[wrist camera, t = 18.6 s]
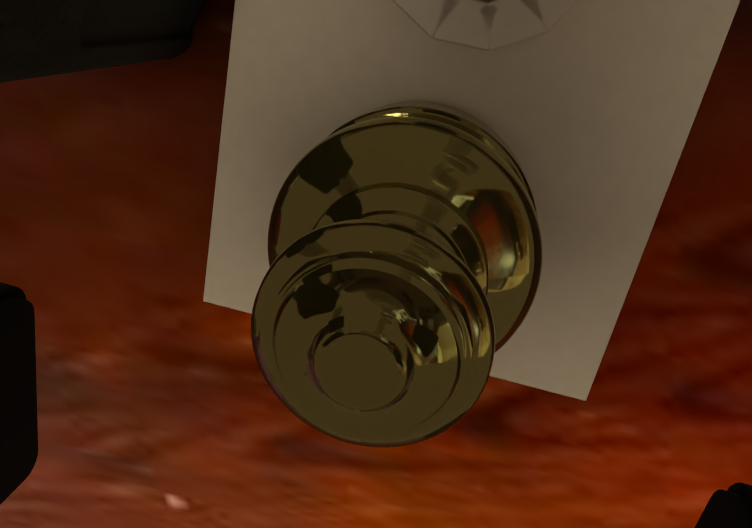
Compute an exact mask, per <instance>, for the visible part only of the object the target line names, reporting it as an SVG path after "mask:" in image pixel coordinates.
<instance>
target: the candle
mask: <svg viewBox="0 0 752 528" xmlns="http://www.w3.org/2000/svg"><path fill="white" fill-rule="evenodd" d="M204 1H205V0H0V82H7V81H14V80H21V79H28V78H35V77H42V76H49V75H56V74H63V73H70V72H77V71H84V70H91V69H98V68H105V67H112V66H119V65H125V64H132V63H139V62H146V61H153V60H160V59H167V58H172V57H175V56H177V55H179V54H181V53H182V52H183V51H184V50H186V48H187V47H188V45H189V44H190V42H191V40H192V38H191V36H190V35H189V32H190V30H191V28H192V26H193V24H194V21H195V19H196V17H197V15H198V13H199V11H200V9H201V7H202V5H203V3H204Z"/></svg>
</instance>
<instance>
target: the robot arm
mask: <svg viewBox="0 0 752 528" xmlns="http://www.w3.org/2000/svg"><path fill="white" fill-rule="evenodd" d="M37 456H38V430H37V392H36V354H35V317H34V307H33V305H32V303H31V302H29V301H27V300H26V296H25V294H24V292H23V290H21V289H20V288H18V287H16V286H12V285H8V284H5V283H1V282H0V504H1V503H2V502H3V501H4V500H5V499H6V498H7V497H8V496H9V495H10V494H11V493H12V492H13V491H14V490H15V489H16V488H17V487H18V486H19V485H20V484H21V483H22V482H23V481H24V480H25V479H26V478H27V476H28V475H29V474H30V472H31V471H32V469H33V467H34V465H35V462H36V459H37ZM695 528H752V486H751V485H748V484H744V483H735V484H733V485H732V486H730V487H729V489H728V490H727V491H725V490H717V491H716V492H714V494H713V495H712V497H711V498H710V500H709V502H708V504H707V506H706V507H705V509H704V511H703V513H702V515H701V517H700V519H699V521H698V522H697V524H696V526H695Z"/></svg>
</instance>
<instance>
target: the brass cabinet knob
mask: <svg viewBox="0 0 752 528" xmlns="http://www.w3.org/2000/svg"><path fill="white" fill-rule="evenodd" d="M267 253H268V263H269V269H268V271H267V273H266V274H265V276H264V278H263V280H262V282H261V285H260V287H259V289H258V292H257V294H256V297H255V301H254V305H253V310H252V317H251V336H252V344H253V350H254V353H255V357H256V360H257V363H258V366H259V368H260V370H261V372H262V375H263V377H264V379H265V380H266V382H267V384H268V385H269V387H270V388H271V390H272V391H273V393H274V394H275V395H276V397H277V398H278V399H279V400H280V401H281V403H282V404H283V405H284V406H285V407H286V408H287V409H288V410H289V411H290V412H292V413H293V414H294V415H295V416H296V417H297V418H299V419H300V420H301V421H303V422H304V423H306V424H307V425H309V426H310V427H312V428H314V429H315V430H317V431H319V432H321V433H323V434H325V435H327V436H329V437H332V438H334V439H337V440H340V441H343V442H346V443H350V444H355V445H360V446H366V447H377V448H389V447H400V446H406V445H411V444H415V443H419V442H422V441H425V440H428V439H430V438H432V437H435V436H437V435H439V434H441V433H442V432H444V431H446V430H447V429H449V428H450V427H452V426H453V425H455V424H456V423H457V422H458V421H460V420H461V419H462V418H463V417H464V416H465V415H466V414H467V413H468V412H469V411H470V409H471V408H472V407H473V406H474V404H475V403H476V402H477V400H478V399H479V397H480V395H481V393H482V392H483V390H484V388H485V385H486V383H487V381H488V377H489V374H490V371H491V368H492V364H493V359H494V354H495V353H496V352H497V351H498V350H500V349H501V348H502V347H503V346H504V345H505V344H506V343H507V342H508V341H509V340H510V339H511V338H512V336H513V335H514V334H515V333H516V332H517V330H518V329H519V327H520V326H521V325H522V323H523V321H524V320H525V318H526V316H527V314H528V313H529V311H530V309H531V306H532V304H533V302H534V300H535V297H536V294H537V291H538V287H539V283H540V279H541V273H542V264H543V247H542V237H541V230H540V226H539V222H538V218H537V212H536V206H535V202H534V198H533V195H532V192H531V189H530V186H529V184H528V182H527V179H526V177H525V174H524V171H523V169H522V167H521V165H520V163H519V161H518V159H517V158H516V156H515V154H514V153H513V151H512V150H511V149H510V147H509V146H508V145H507V143H506V142H505V141H504V140H503V139H502V138H501V137H500V136H499V135H498V134H497V133H496V132H495V131H494V130H493V129H492V128H490V127H489V126H488V125H487V124H485V123H484V122H482V121H481V120H479V119H478V118H476V117H474V116H473V115H471V114H469V113H467V112H465V111H462V110H460V109H458V108H455V107H451V106H448V105H445V104H440V103H435V102H427V101H404V102H398V103H392V104H388V105H384V106H381V107H378V108H375V109H373V110H370V111H368V112H366V113H364V114H362V115H360V116H359V117H357V118H355V119H353V120H351V121H349V122H347V123H346V124H344V125H342V126H341V127H339V128H338V129H336V130H335V131H334V132H332V133H331V134H330V135H329V136H328V137H326V138H325V139H324V140H322V141H321V142H319V143H318V144H317V145H315V146H314V147H313V148H312V149H311V150H310V151H308V152H307V153H306V154H305V155H304V156H303V157H302V158H301V159H300V160H299V161H298V163H297V164H296V165H295V166H294V168H293V169H292V170H291V171H290V173H289V174H288V176H287V178H286V179H285V181H284V182H283V184H282V186H281V188H280V190H279V192H278V195H277V197H276V200H275V202H274V205H273V209H272V212H271V216H270V221H269V226H268V236H267Z"/></svg>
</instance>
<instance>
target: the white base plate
mask: <svg viewBox="0 0 752 528" xmlns="http://www.w3.org/2000/svg"><path fill="white" fill-rule="evenodd" d="M739 2H740V0H235V6H234V16H233V25H232V34H231V44H230V53H229V63H228V72H227V82H226V91H225V100H224V110H223V119H222V129H221V138H220V147H219V157H218V166H217V176H216V185H215V194H214V204H213V213H212V223H211V232H210V241H209V251H208V260H207V270H206V279H205V288H204V298H203V301H205V302H209V303H213V304H217V305H220V306H224V307H228V308H232V309H236V310H240V311H243V312H247V313H251V314H252V310H253V305H254V301H255V297H256V294H257V292H258V289H259V287H260V285H261V282H262V280H263V278H264V276H265V274H266V273H267V271H268V269H269V263H268V253H267V236H268V226H269V221H270V216H271V212H272V209H273V205H274V202H275V200H276V197H277V195H278V192H279V190H280V188H281V186H282V184H283V182H284V181H285V179H286V178H287V176H288V174H289V173H290V171H291V170H292V169H293V168H294V166H295V165H296V164H297V163H298V161H299V160H300V159H301V158H302V157H303V156H304V155H305V154H306V153H307V152H308V151H310V150H311V149H312V148H313V147H314V146H315V145H317V144H318V143H319V142H321V141H322V140H324V139H325V138H326V137H328V136H329V135H330V134H331V133H332V132H334V131H335V130H336V129H338V128H339V127H341V126H342V125H344V124H346V123H347V122H349V121H351V120H353V119H355V118H357V117H359V116H360V115H362V114H364V113H366V112H368V111H370V110H373V109H375V108H378V107H381V106H384V105H388V104H392V103H398V102H404V101H427V102H435V103H440V104H445V105H448V106H451V107H455V108H458V109H460V110H462V111H465V112H467V113H469V114H471V115H473V116H474V117H476V118H478V119H479V120H481V121H482V122H484V123H485V124H487V125H488V126H489V127H490V128H492V129H493V130H494V131H495V132H496V133H497V134H498V135H499V136H500V137H501V138H502V139H503V140H504V141H505V142H506V143H507V145H508V146H509V147H510V149H511V150H512V151H513V153H514V154H515V156H516V158H517V159H518V161H519V163H520V165H521V167H522V169H523V171H524V174H525V177H526V179H527V182H528V184H529V186H530V189H531V192H532V195H533V198H534V202H535V206H536V212H537V218H538V222H539V226H540V230H541V237H542V247H543V264H542V273H541V279H540V283H539V287H538V291H537V294H536V297H535V300H534V302H533V304H532V306H531V309H530V311H529V313H528V314H527V316H526V318H525V320H524V321H523V323H522V325H521V326H520V327H519V329H518V330H517V332H516V333H515V334H514V335H513V336H512V338H511V339H510V340H509V341H508V342H507V343H506V344H505V345H504V346H503V347H502V348H501V349H500V350H498V351H497V352H496V353H495V354H494V359H493V364H492V368H491V371H490V374H489V376H492V377H496V378H500V379H504V380H508V381H511V382H515V383H519V384H523V385H527V386H531V387H534V388H538V389H542V390H546V391H550V392H554V393H557V394H561V395H565V396H569V397H573V398H577V399H580V400H584V401H585V400H586V399H587V396H588V394H589V391H590V388H591V386H592V383H593V381H594V378H595V375H596V373H597V370H598V368H599V365H600V363H601V360H602V357H603V355H604V352H605V350H606V347H607V344H608V342H609V339H610V337H611V334H612V331H613V329H614V326H615V324H616V321H617V318H618V316H619V313H620V311H621V308H622V306H623V303H624V300H625V298H626V295H627V293H628V290H629V287H630V285H631V282H632V280H633V277H634V274H635V272H636V269H637V267H638V264H639V261H640V259H641V256H642V254H643V251H644V248H645V246H646V243H647V241H648V238H649V236H650V233H651V230H652V228H653V225H654V223H655V220H656V217H657V215H658V212H659V210H660V207H661V204H662V202H663V199H664V197H665V194H666V191H667V189H668V186H669V184H670V181H671V179H672V176H673V173H674V171H675V168H676V166H677V163H678V160H679V158H680V155H681V153H682V150H683V147H684V145H685V142H686V140H687V137H688V134H689V132H690V129H691V127H692V124H693V121H694V119H695V116H696V114H697V111H698V109H699V106H700V103H701V101H702V98H703V96H704V93H705V90H706V88H707V85H708V83H709V80H710V77H711V75H712V72H713V70H714V67H715V64H716V62H717V59H718V57H719V54H720V52H721V49H722V46H723V44H724V41H725V39H726V36H727V33H728V31H729V28H730V26H731V23H732V20H733V18H734V15H735V13H736V10H737V7H738V5H739Z"/></svg>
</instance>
